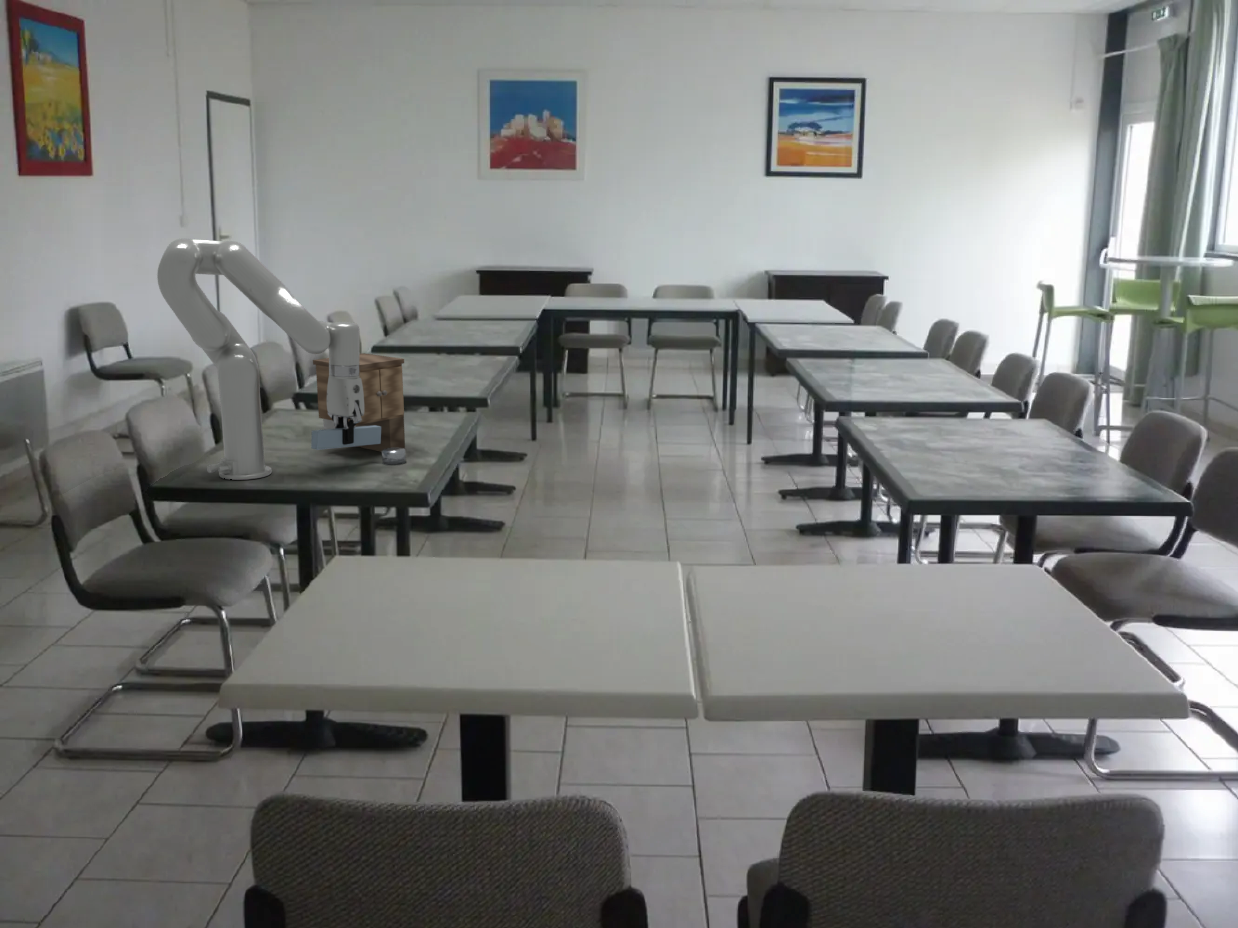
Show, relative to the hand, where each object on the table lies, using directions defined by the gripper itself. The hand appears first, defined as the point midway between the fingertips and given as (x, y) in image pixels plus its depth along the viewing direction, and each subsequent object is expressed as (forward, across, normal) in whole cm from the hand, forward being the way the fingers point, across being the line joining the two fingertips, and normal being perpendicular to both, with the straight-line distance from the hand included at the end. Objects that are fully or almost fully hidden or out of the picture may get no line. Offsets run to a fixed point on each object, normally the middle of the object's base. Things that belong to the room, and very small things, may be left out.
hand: (344, 442), depth 315 cm
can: (+7, +35, -24) cm, 43 cm away
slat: (+1, 0, -1) cm, 1 cm away
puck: (+6, -5, -12) cm, 14 cm away
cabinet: (+6, +12, -15) cm, 20 cm away
